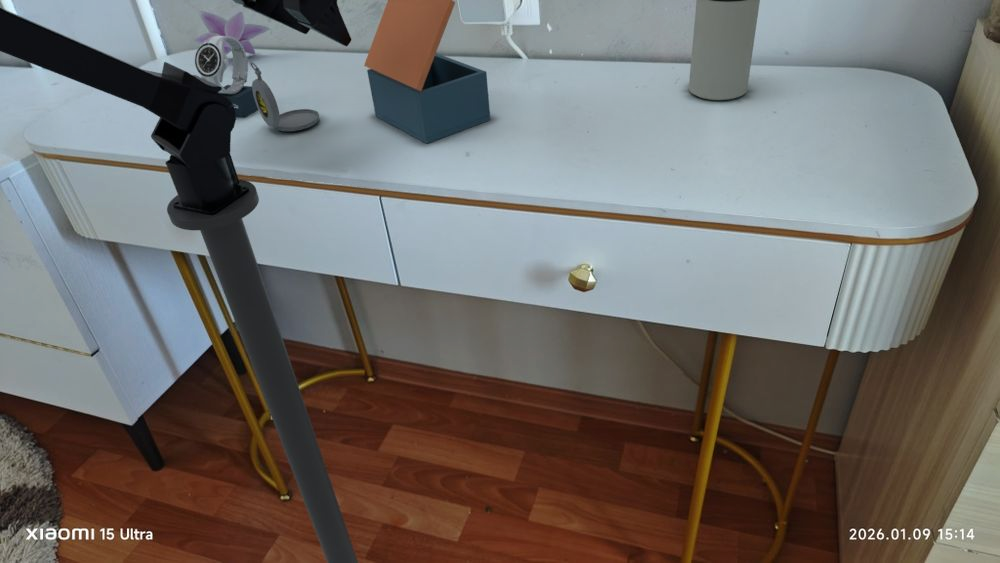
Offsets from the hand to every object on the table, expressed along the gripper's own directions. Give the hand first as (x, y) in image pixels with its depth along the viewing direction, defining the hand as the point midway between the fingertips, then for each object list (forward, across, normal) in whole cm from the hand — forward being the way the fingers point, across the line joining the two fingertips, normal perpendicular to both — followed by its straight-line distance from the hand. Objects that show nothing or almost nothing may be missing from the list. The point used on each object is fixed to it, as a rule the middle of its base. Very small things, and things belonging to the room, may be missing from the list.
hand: (327, 37), depth 85 cm
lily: (+16, +46, +2) cm, 49 cm away
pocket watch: (+10, +11, +10) cm, 18 cm away
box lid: (+7, -4, -7) cm, 11 cm away
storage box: (+18, -4, -2) cm, 18 cm away
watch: (+9, +23, +11) cm, 27 cm away
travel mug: (+35, -30, -28) cm, 54 cm away
